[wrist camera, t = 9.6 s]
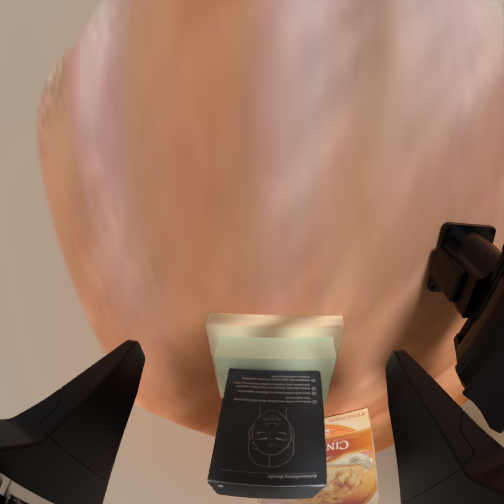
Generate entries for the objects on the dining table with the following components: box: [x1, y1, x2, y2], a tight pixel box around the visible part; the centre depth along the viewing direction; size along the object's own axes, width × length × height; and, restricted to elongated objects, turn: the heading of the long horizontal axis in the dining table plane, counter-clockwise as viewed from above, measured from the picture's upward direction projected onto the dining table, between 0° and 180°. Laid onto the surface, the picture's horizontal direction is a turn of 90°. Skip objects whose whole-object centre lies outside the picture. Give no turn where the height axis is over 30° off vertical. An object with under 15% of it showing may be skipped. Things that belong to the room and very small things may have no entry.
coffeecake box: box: [257, 408, 379, 504], centre depth 26 cm, size 15×7×20 cm, turn 113°
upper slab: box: [214, 336, 336, 406], centre depth 25 cm, size 10×10×2 cm
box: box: [208, 368, 327, 499], centre depth 19 cm, size 8×6×11 cm
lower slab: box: [205, 312, 344, 398], centre depth 27 cm, size 12×12×2 cm
